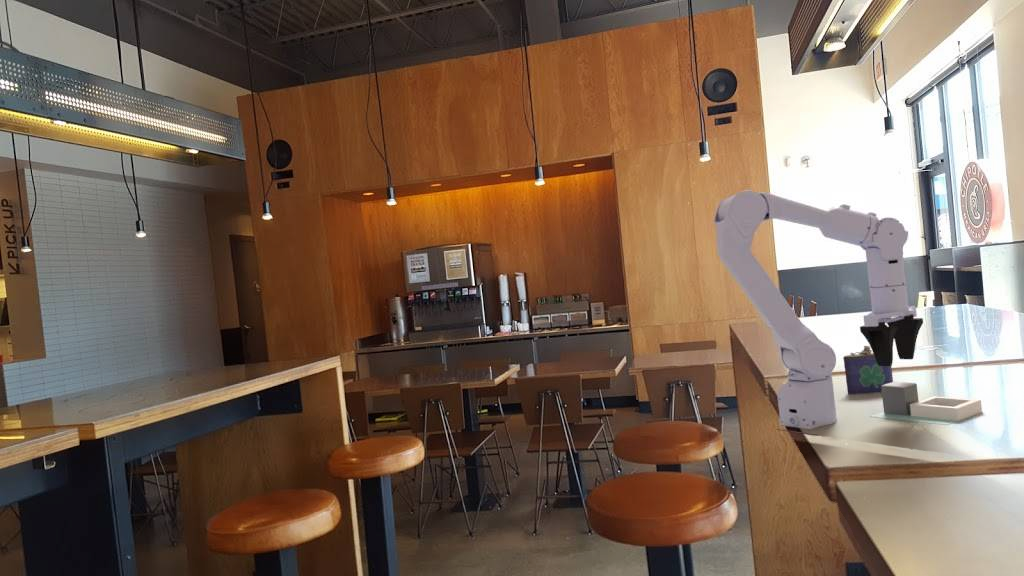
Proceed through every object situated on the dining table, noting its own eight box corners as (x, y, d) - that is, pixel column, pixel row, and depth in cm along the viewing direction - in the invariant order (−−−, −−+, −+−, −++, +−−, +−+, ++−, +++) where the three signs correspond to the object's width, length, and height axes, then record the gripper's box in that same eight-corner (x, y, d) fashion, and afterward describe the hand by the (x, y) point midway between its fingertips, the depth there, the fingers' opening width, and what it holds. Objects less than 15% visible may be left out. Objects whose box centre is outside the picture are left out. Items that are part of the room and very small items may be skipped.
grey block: (906, 415, 118) (903, 386, 118) (884, 413, 122) (881, 385, 122) (919, 411, 121) (916, 382, 121) (897, 409, 124) (893, 381, 124)
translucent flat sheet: (948, 432, 110) (948, 424, 110) (870, 423, 121) (869, 416, 121) (983, 418, 116) (982, 411, 116) (905, 411, 127) (905, 404, 127)
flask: (891, 393, 143) (885, 342, 143) (898, 396, 140) (892, 343, 140) (846, 398, 143) (840, 347, 143) (852, 401, 140) (846, 348, 140)
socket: (958, 420, 112) (957, 408, 112) (911, 415, 118) (909, 404, 118) (982, 411, 115) (980, 399, 115) (935, 407, 122) (933, 396, 122)
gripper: (889, 288, 115) (898, 369, 115) (930, 280, 123) (939, 356, 123) (848, 290, 121) (857, 368, 121) (890, 283, 129) (898, 355, 129)
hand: (895, 362), depth 122 cm, fingers open, 7 cm apart
